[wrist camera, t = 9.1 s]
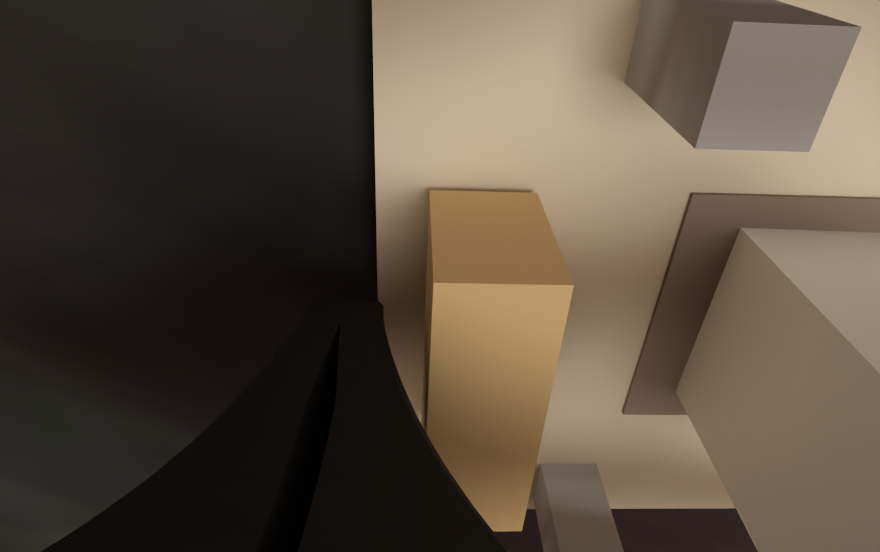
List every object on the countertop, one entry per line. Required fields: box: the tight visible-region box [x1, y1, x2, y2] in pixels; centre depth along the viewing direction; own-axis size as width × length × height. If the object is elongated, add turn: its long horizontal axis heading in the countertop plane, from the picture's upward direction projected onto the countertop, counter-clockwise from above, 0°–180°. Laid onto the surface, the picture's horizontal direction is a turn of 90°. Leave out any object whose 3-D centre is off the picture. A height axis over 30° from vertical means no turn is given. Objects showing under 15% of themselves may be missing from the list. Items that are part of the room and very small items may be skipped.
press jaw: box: [421, 190, 574, 531], centre depth 11 cm, size 6×2×3 cm, turn 177°
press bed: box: [372, 0, 880, 552], centre depth 12 cm, size 14×16×4 cm
